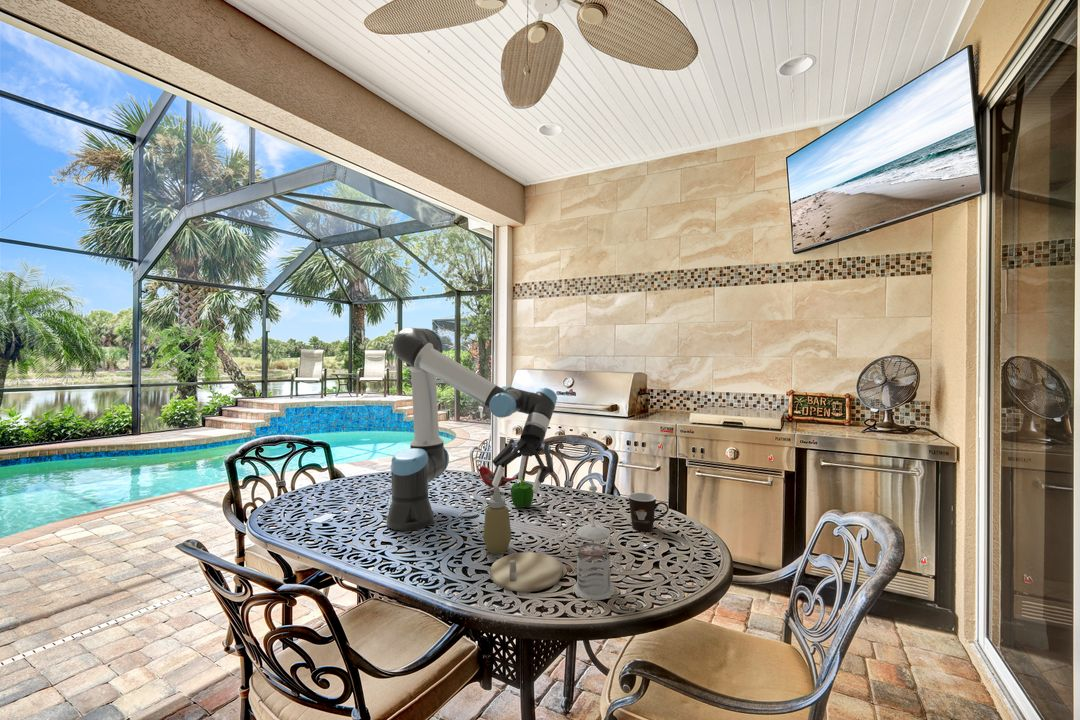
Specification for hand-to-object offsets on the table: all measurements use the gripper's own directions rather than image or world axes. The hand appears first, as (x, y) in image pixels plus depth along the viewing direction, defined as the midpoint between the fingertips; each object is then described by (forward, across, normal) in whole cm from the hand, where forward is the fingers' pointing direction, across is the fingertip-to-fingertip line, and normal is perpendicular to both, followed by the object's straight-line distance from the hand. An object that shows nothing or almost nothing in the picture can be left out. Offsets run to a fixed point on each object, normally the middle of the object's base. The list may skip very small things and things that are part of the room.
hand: (514, 488), depth 141 cm
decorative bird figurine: (-17, +29, -39) cm, 51 cm away
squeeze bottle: (+17, +2, -6) cm, 18 cm away
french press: (+23, -31, +1) cm, 39 cm away
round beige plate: (+23, -12, +1) cm, 26 cm away
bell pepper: (-9, +12, -31) cm, 35 cm away
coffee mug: (-6, -34, -29) cm, 45 cm away
